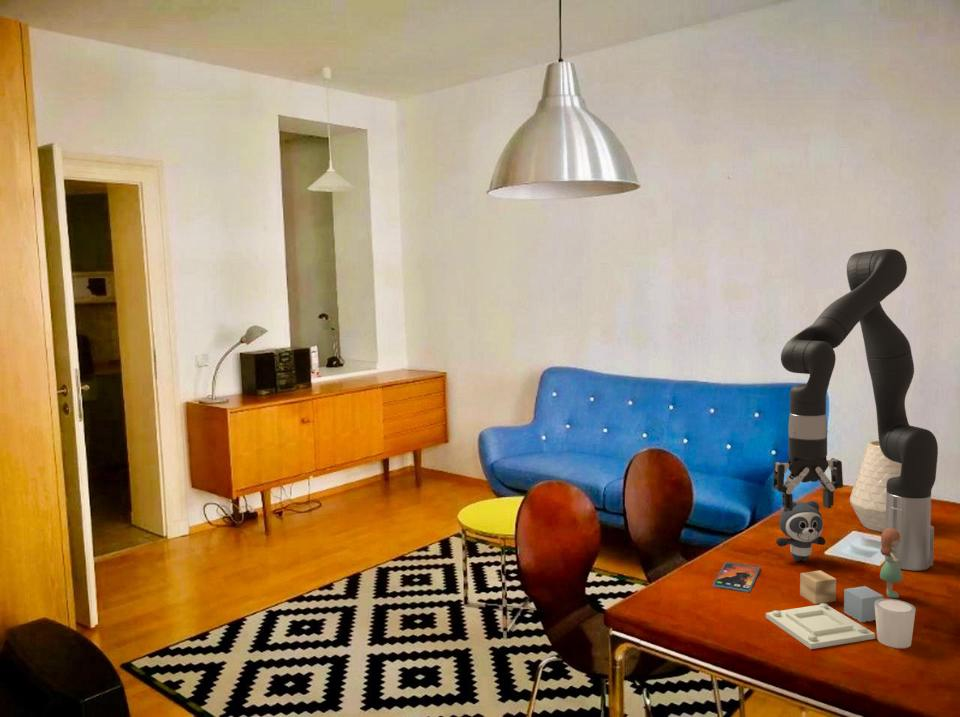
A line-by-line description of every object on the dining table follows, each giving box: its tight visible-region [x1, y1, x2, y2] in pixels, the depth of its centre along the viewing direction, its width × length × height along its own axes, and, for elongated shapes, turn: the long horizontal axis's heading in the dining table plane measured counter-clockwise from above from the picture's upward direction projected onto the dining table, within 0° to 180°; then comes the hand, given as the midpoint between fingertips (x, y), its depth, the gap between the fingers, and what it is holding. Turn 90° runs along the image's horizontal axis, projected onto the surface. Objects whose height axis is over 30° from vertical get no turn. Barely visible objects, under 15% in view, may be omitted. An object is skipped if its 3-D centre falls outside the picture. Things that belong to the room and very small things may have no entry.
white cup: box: [874, 598, 916, 649], centre depth 142 cm, size 7×7×7 cm
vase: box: [849, 439, 902, 533], centre depth 205 cm, size 18×17×23 cm
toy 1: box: [775, 500, 826, 562], centre depth 182 cm, size 12×10×15 cm
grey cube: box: [843, 585, 884, 623], centre depth 153 cm, size 5×5×5 cm
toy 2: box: [879, 528, 904, 599], centre depth 161 cm, size 13×4×15 cm, turn 163°
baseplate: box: [765, 603, 876, 650], centre depth 149 cm, size 14×14×2 cm
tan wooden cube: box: [799, 569, 837, 605], centre depth 162 cm, size 5×5×5 cm
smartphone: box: [712, 561, 761, 594], centre depth 175 cm, size 8×1×15 cm
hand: (807, 508), depth 162 cm, fingers open, 8 cm apart
